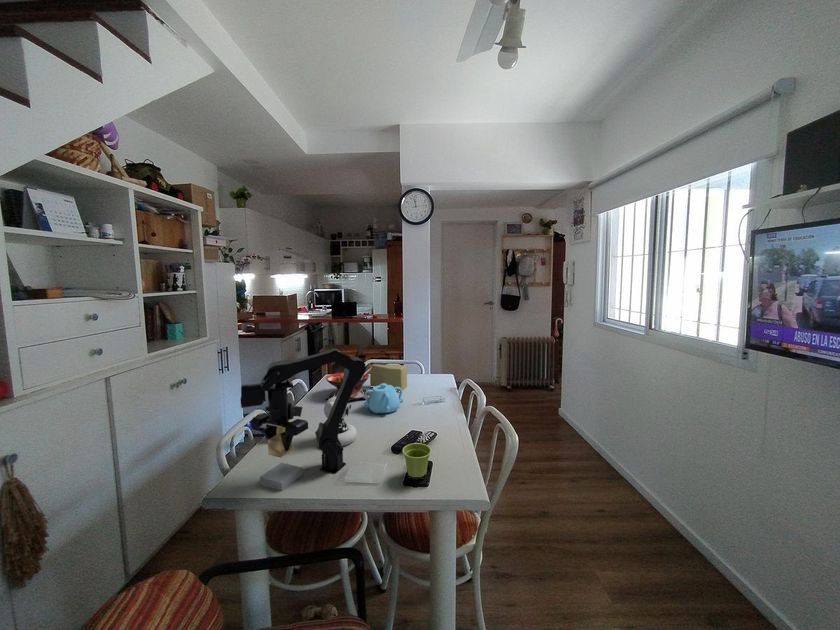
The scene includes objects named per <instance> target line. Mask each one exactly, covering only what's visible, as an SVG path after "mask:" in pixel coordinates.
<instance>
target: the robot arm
mask: <svg viewBox="0 0 840 630" xmlns="http://www.w3.org/2000/svg"><path fill="white" fill-rule="evenodd" d="M332 363H335V364H338V365H339V366H341V367H343V368H344V369H343V372H344V376H343V382H342V385H341V387H340V389H339V392H337V393H338V394H336V396H337V397H336V396H335V397H336V399H335V402H334V404H333V407H332V409H331V412H330V414H329V416H328V418H327V419H326V420H325V421H324V422H321V421H320V422H319V423H318V427H317V429H316V431H315V432H314V433H315V439H316V442H317V445H318V448H319V449H320V451H321V453H322V454H321V467H319V471H320V472H324V473H325V472H326V473H329V474H333V475H336V474H337V473H338V472H339V471H340V470H342V469H343V468H344V467H345V466H346V465H347V463H346V462H344V455H343V454H344V452H343V451H344V448H343V447H344V446H342V445H341V443H340V441H339V439H338V431H339V424H340V421H341V419H342V416H343V414H344V411H345V409H346V407H347V405H348V404H349V401H350V400H349V399H350V397H351V394H352V392H353V389H354V387H355V385H356V384H357V383H358V382H359V381H360V380H361V378H362V377H363V375H364V373H365V372H366V371H367V365H366V363H365V362H364V361H363V360H362V359H361V358H360V357H357V356H350V355H347V354H346V353H343V352H342V351H340V350H339V349H337V348H331V349H329V350H325V351H323V352H318V353H315V354H312V355H311V354H310V355H309V356H304V357H301V358H298V359H291V360H286V359H285V360H278V361H272V362H271V363H269V364H268V366H267V367H266V373H265V375H264V376H263V378H261V381H260V383H252V384H241V386H240V387H241V388H240V389H241V390H240V392H241V393H240V408H241V409H245V408H250V407H251V408H252V407H257V406H262V405H263V404H264V402H266V401H267V403H268V405H267V406H266V407H265V408H264V409H265V411H266V412H263V413H260V414H259V415H256V416H253V417H252V419H251V421H250V426H251V428H255V429H258V431H259V432H261V434H262V435H263V437H264V438H265V439H266V441H267V442H268V439H270V438H272V437H274V436H275V435H276V430H277V427H284V428H285V432H283V433H281V434H280V435H281V439H282V442H283V446H284V449H285V451H288V450H289V448H290V445H291V442H292V443H293V438H294V436H295V437H296V436H298V435H300V434H302V433H303V432H305V431H307V430H308V429H309V421H308V420H306V419H300V418H301V416H302V411H303V406H299V405H298V406H297V405H292V403H291V402H289V398H288V395H289V394H288V389H290V388H294V383H293V382H292V381H290V379H291V378H293V377H294V376H295V375H297V374H299V373H300V374H301V373H302V372H306V371H309V370H312V369H315V368H319V367H323V366H325V365H329V364H332ZM266 392H267V398H266ZM266 399H267V400H266ZM267 412H268V413H267ZM294 417H297V419H294ZM298 417H300V418H298ZM289 419H290V420H291V422H288V421H289ZM292 419H294V420H292Z"/></svg>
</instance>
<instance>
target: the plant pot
mask: <svg viewBox="0 0 840 630" xmlns="http://www.w3.org/2000/svg"><path fill="white" fill-rule="evenodd" d="M431 453H432V449H431V447H430V446H429V445H427V444H424V443H419V442H415V443H409V444H407V445H405V446H404V447H403V448H402V454H403V455H404V458H405V465H406V473H408V474H407V476H408V475H409V476H411V477H422V476H424V475H425V474H426V475H427V471H428V470H427V469H428V464H429V459H430V455H431Z"/></svg>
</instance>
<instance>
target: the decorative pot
mask: <svg viewBox="0 0 840 630" xmlns="http://www.w3.org/2000/svg"><path fill="white" fill-rule="evenodd" d="M395 389H399V390H400V392H399V394H398V392H396V390H395ZM366 390H367V391H366V392H365V394H363V396H365V398H364V399H365V402H364V403H363V406H364V407H365V408H369V409H370V411H371V412H372V413H375V414H378V413H380V414H388V413H393V412H396V411H397V410H398V409H399V407H400V404H403V402H404V398H402V395H403V392H402V389H401V388H400V387H395V388H394V387H393V386H392V385H387V384H386V383H382V384H380V385H379V386H374V387H373V388H371V389H366ZM368 392H370V395H369V399H367V393H368Z"/></svg>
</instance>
